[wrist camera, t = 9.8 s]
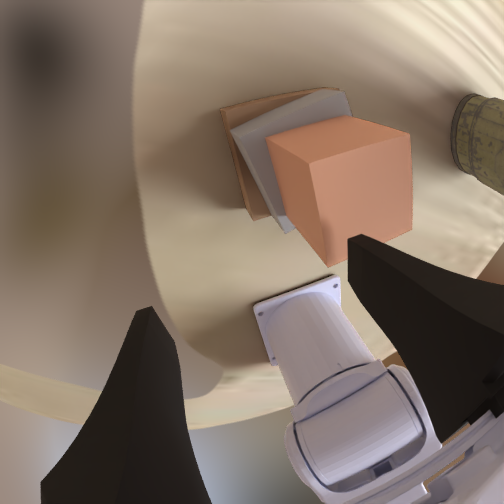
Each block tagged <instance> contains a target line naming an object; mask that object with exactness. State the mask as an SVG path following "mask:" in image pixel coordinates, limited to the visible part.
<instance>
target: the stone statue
mask: <svg viewBox="0 0 504 504" xmlns="http://www.w3.org/2000/svg"><path fill="white" fill-rule="evenodd" d="M451 149H452V153H453V157H454V161H455V162H456V164H457V166H458V167H459V169H461V170H462V171H464V172H465V173H467V174H469V175H472V176H474V177H476V178H477V180H479V181H480V182H481V183H483V184H485V185H486V186H488V187H490V188H492V189H493V190H495V191H497V192H499V193H500V194H502V195H504V100H501V99H498V98H495V97H494V98H486V97H483V96H481V95H478V94H470V95H467V96H466V97H465V98H464V99H463V100H462V101H461V102H460V104H459V106H458V108H457V109H456V112H455V115H454V119H453V122H452V130H451Z"/></svg>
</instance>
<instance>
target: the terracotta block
mask: <svg viewBox="0 0 504 504" xmlns="http://www.w3.org/2000/svg"><path fill="white" fill-rule="evenodd" d="M265 140H266V143H267V147H268V150H269V154H270V157H271V161H272V164H273V168H274V172H275V175H276V179H277V183H278V186H279V190H280V194H281V197H282V201H283V205H284V209H285V213H286V216H287V218H288V219H289V220H290V221H291V222H292V224H293V225H294V226H295V227H296V228H297V230H298V231H299V232H300V233H301V235H302V236H303V237H304V238H305V239H306V241H307V242H308V243H309V244H310V246H311V247H312V248H313V249H314V251H315V252H316V253H317V254H318V256H319V257H320V258H321V259H322V261H323V262H324V263H325V264H326V266H327V267H328V268H329V267H331V266H333V265H335V264H338V263H340V262H342V261H345V260H347V259H348V248H347V239H348V238H351V237H354V236H356V235H359V234H364V235H366V236H369V237H371V238H373V239H376V240H378V241H380V242H382V243H385V242H387V241H389V240H391V239H393V238H395V237H398V236H400V235H402V234H404V233H406V232H408V231H410V230H412V217H413V186H412V159H411V144H410V134H408V133H406V132H402V131H399V130H396V129H393V128H390V127H387V126H383V125H380V124H377V123H373V122H370V121H366V120H362V119H359V118H355V117H351V116H347V115H343V116H339V117H335V118H331V119H327V120H323V121H319V122H316V123H312V124H308V125H305V126H301V127H298V128H294V129H291V130H288V131H284V132H281V133H278V134H275V135H271V136H268V137H265Z"/></svg>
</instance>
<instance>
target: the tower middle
mask: <svg viewBox="0 0 504 504" xmlns="http://www.w3.org/2000/svg"><path fill="white" fill-rule="evenodd" d="M343 115H347V116H351V117H353V116H352V113H351V109H350V106H349V103H348V100H347V98H346V95H345V92H344V91H337V90H327V89H321V90H318V91H316V92H313V93H311V94H308V95H306V96H303V97H301V98H299V99H296V100H294V101H291V102H289V103H287V104H285V105H282V106H280V107H278V108H275V109H273V110H271V111H269V112H267V113H264V114H262V115H260V116H258V117H256V118H254V119H252V120H250V121H248V122H245V123H243V124H241V125H239V126H237V127H235V128H233V129H231V130H230V132H231V134H232V136H233V138H234V140H235V142H236V144H237V146H238V148H239V150H240V152H241V154H242V156H243V158H244V160H245V162H246V164H247V166H248V168H249V170H250V172H251V174H252V176H253V178H254V180H255V182H256V184H257V186H258V188H259V190H260V192H261V194H262V196H263V198H264V200H265V203H266V205H267V207H268V209H269V211H270V213H271V215H272V216H273V218H274V219H275V220H276V222H277V223H278V224H279V226H280V227H281V229H282V230H283V231H284V233H285V234H286V233H288V232H289V231H291V230H293V229H295V228H296V227H295V226H294V225H293V224H292V222H291V221H290V220H289V219H288V218H287V216H286V213H285V209H284V205H283V201H282V197H281V194H280V190H279V186H278V183H277V179H276V175H275V172H274V168H273V164H272V161H271V157H270V154H269V150H268V147H267V143H266V140H265V137H268V136H271V135H275V134H278V133H281V132H284V131H288V130H291V129H294V128H298V127H301V126H305V125H308V124H312V123H316V122H319V121H323V120H327V119H331V118H335V117H339V116H343Z"/></svg>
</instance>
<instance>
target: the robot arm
mask: <svg viewBox="0 0 504 504" xmlns="http://www.w3.org/2000/svg"><path fill="white" fill-rule="evenodd" d="M347 248H348V282H349V284H350V285H351V287H352V289H353V291H354V292H355V294H356V296H357V297H358V299H359V301H360V302H361V303H362V305H363V306H364V307H365V309H366V310H367V311H368V313H369V314H370V315H371V316H372V318H373V319H374V320H375V322H376V323H377V324H378V325H379V327H380V328H381V329H382V331H383V332H384V333H385V335H386V336H387V337H388V339H389V340H390V341H391V343H392V344H393V345H394V347H395V348H396V350H397V351H398V353H399V355H400V356H401V358H402V360H403V362H404V363H405V365H406V367H407V369H408V370H407V369H406V368H404V367H402V366H397V365H395V364H392V365H390V366H389V367H387V369H386V368H385V366H384V365H383V363H382V362H381V360H380V359H377V360H375V358H374V357H373V355H372V354H371V352H370V351H369V349H368V348H367V346H366V345H365V343H364V342H363V340H362V339H361V337H360V336H359V334H358V333H357V331H356V330H355V328H354V327H353V326H352V324H351V323H350V321H349V320H348V318H347V317H346V315H345V314H344V312H343V311H342V310H341V291H340V278H339V276H337V275H333V276H330V277H328V278H325V279H322V280H320V281H317V282H315V283H312V284H309V285H306V286H304V287H301V288H298V289H296V290H293V291H290V292H287V293H285V294H282V295H279V296H276V297H273V298H271V299H268V300H265V301H262V302H259V303H257V304H255V305H254V307H253V310H254V313H255V316H256V320H257V323H258V326H259V329H260V332H261V335H262V338H263V341H264V344H265V348H266V351H267V354H268V357H269V360H270V363H271V365H272V366H276V365H278V366H279V368H280V370H281V373H282V375H283V378H284V380H285V383H286V385H287V388H288V390H289V393H290V395H291V397H292V400H293V402H294V405H295V407H293V408H292V409H290V412H291V414H292V417H293V419H294V421H292V422H290V423H289V424H288V425H287V427H286V432H285V435H284V443H285V447H286V451H287V454H288V457H289V460H290V462H291V464H292V466H293V468H294V470H295V471H296V473H297V475H298V476H299V477H300V479H301V480H302V481H303V482H304V483H305V484H306V485H307V486H309V487H311V489H312V490H313V491H314V492H315V493H316V494H317V496H318V497H319V498H320V500H321V501H322V502H324V503H325V504H504V285H500V284H495V283H490V282H485V281H482V280H478V279H474V278H470V277H467V276H463V275H460V274H457V273H454V272H451V271H448V270H445V269H443V268H440V267H437V266H435V265H432V264H430V263H427V262H425V261H422V260H420V259H418V258H415V257H413V256H411V255H409V254H406V253H404V252H402V251H400V250H398V249H395V248H393V247H391V246H389V245H387V244H385V243H382V242H380V241H378V240H376V239H373V238H371V237H369V236H366V235H364V234H359V235H356V236H354V237H351V238H348V239H347ZM334 284H335V285H334ZM259 312H261V313H259ZM468 423H469V424H470V425H471V426H470V427H469V428H467V429H466V430H465V431H464V432H462V433H461V434H460V435H459V436H457V437H456V438H455V439H453V440H452V441H451V442H449V443H448V444H447V445H445V446H444V447H442V443H443V442H444V441H446V440H447V439H448V438H450V437H451V436H453V435H454V434H455V433H456V432H458V431H459V430H460V429H462V428H463V427H464V426H465V425H467V424H468ZM465 451H466V452H465ZM464 452H465V457H464V459H463V460H461V461H460V462H458V463H456V464H455V465H453V466H452V467H450V468H449V469H447V470H446V471H445V472H443V473H442V474H441V475H439V476H438V477H437V478H435V479H434V480H433V481H431V482H430V483H429V484H428V485H427V487H428V489H429V491H430V492H429V493H427V491H426V489H425V487H424V485H423V481H425V480H427V479H428V478H430V477H431V476H433V475H434V474H435V473H437V472H438V471H440V470H441V469H443V468H444V467H445V466H447V465H448V464H450V463H451V462H452V461H454V460H455V459H456V458H457V457H459V456H460V455H461V454H463V453H464ZM41 504H212V503H211V500H210V498H209V496H208V493H207V491H206V488H205V485H204V482H203V480H202V477H201V474H200V471H199V468H198V465H197V462H196V458H195V455H194V452H193V448H192V445H191V441H190V437H189V433H188V429H187V423H186V416H185V408H184V399H183V390H182V380H181V371H180V365H179V359H178V354H177V350H176V346H175V342H174V340H173V339H172V337H171V335H170V334H169V333H168V331H167V329H166V328H165V326H164V325H163V323H162V321H161V320H160V318H159V317H158V315H157V314H156V312H155V310H154V309H153V307H152V306H151V307H147V308H144V309H141V310H138V311H136V313H135V315H134V318H133V320H132V322H131V325H130V327H129V330H128V332H127V335H126V338H125V340H124V342H123V345H122V348H121V350H120V352H119V355H118V357H117V360H116V362H115V365H114V367H113V369H112V371H111V374H110V376H109V378H108V380H107V383H106V385H105V387H104V389H103V391H102V393H101V395H100V397H99V399H98V401H97V403H96V405H95V407H94V408H93V410H92V412H91V414H90V416H89V417H88V419H87V420H86V422H85V424H84V425H83V427H82V429H81V430H80V432H79V434H78V435H77V437H76V438H75V440H74V441H73V443H72V444H71V445H70V447H69V448H68V450H67V451H66V452H65V454H64V455H63V456H62V458H61V459H60V460H59V462H58V463H57V464H56V465H55V467H54V468H53V469H52V470H51V471H50V472H49V473H48V474H47V476H46V477H45V478H44V479H43V480H42V481H41Z"/></svg>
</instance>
